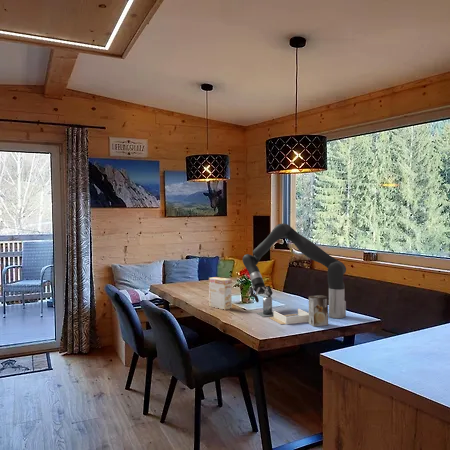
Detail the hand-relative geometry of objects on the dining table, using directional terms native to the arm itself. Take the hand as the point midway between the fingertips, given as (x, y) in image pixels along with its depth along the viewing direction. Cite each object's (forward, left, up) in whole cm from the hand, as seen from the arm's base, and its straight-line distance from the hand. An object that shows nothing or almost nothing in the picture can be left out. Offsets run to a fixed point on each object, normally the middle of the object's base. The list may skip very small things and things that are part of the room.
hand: (264, 301), depth 271 cm
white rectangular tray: (-9, +20, -8) cm, 23 cm away
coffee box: (-17, +35, -8) cm, 40 cm away
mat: (0, +4, -8) cm, 9 cm away
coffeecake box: (+21, -25, -8) cm, 33 cm away
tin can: (0, +4, -7) cm, 8 cm away
